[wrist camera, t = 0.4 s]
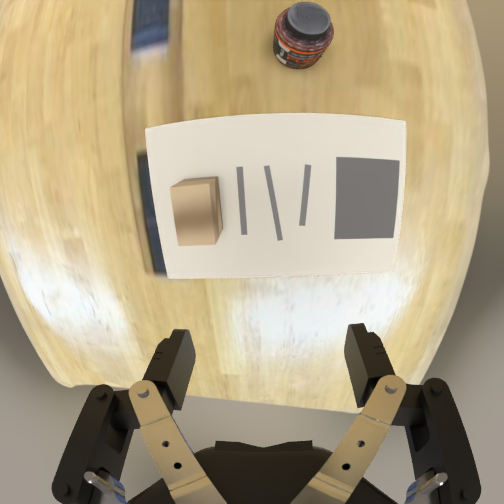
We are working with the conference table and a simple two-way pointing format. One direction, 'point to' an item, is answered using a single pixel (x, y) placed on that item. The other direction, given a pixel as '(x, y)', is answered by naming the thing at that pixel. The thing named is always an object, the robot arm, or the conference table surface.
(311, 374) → the conference table surface
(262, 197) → the board
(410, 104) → the conference table surface
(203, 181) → the block
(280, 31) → the supplement bottle
